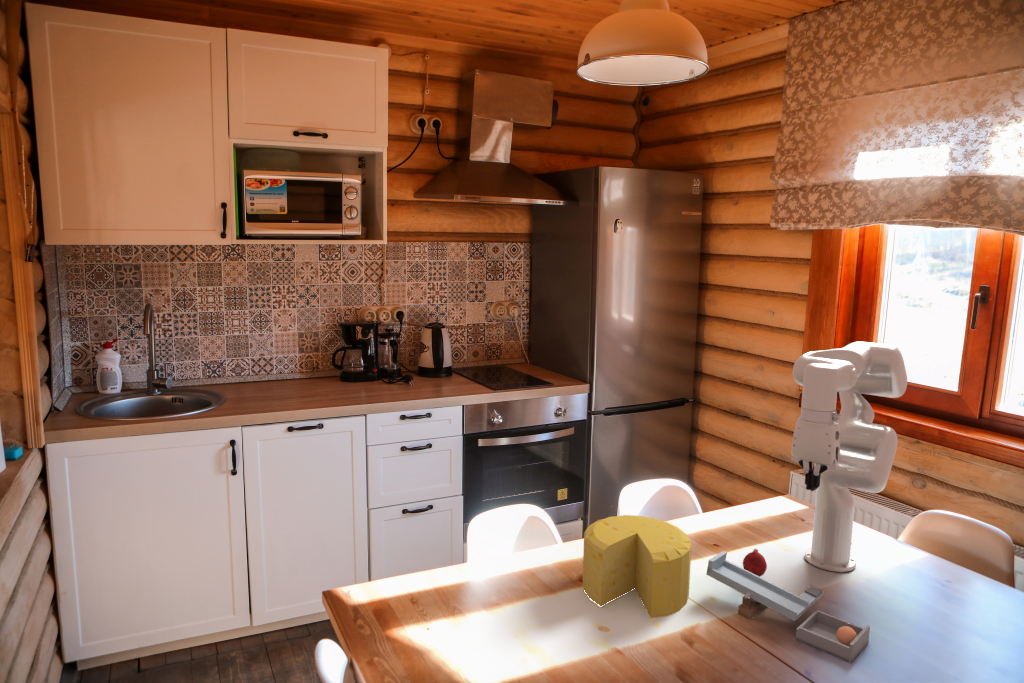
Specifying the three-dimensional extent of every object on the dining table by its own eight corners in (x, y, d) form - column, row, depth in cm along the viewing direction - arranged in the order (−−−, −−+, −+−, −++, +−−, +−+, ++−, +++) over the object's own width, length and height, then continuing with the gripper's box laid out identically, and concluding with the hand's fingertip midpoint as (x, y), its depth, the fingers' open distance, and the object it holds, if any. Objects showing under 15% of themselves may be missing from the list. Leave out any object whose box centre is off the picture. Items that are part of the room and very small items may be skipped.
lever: (738, 553, 176) (740, 539, 175) (823, 595, 161) (826, 580, 160) (703, 576, 164) (705, 561, 163) (791, 623, 149) (795, 607, 148)
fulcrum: (757, 598, 165) (758, 581, 164) (770, 603, 163) (771, 586, 162) (737, 614, 158) (738, 596, 158) (750, 619, 156) (752, 601, 155)
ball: (846, 619, 147) (863, 633, 145) (837, 631, 149) (854, 645, 147) (839, 626, 144) (856, 640, 142) (830, 639, 146) (847, 653, 144)
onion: (767, 585, 172) (769, 555, 171) (743, 582, 173) (745, 553, 172) (763, 574, 177) (765, 545, 176) (740, 571, 179) (742, 543, 177)
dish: (814, 621, 156) (815, 605, 155) (868, 642, 147) (870, 625, 147) (795, 639, 149) (796, 622, 148) (851, 663, 140) (852, 645, 140)
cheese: (619, 628, 152) (621, 566, 150) (563, 576, 176) (565, 521, 173) (711, 604, 163) (714, 545, 160) (647, 557, 186) (649, 505, 184)
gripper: (856, 418, 159) (850, 493, 161) (793, 407, 169) (788, 477, 172) (844, 424, 153) (838, 501, 156) (780, 412, 164) (774, 484, 167)
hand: (811, 488), depth 164 cm, fingers closed
